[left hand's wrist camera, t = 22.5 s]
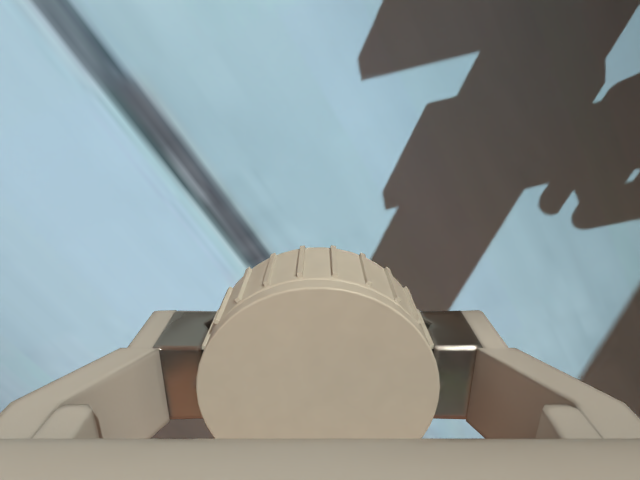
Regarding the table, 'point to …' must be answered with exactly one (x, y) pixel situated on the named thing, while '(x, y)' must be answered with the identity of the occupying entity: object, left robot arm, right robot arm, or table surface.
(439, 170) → the table surface
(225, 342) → the lid
